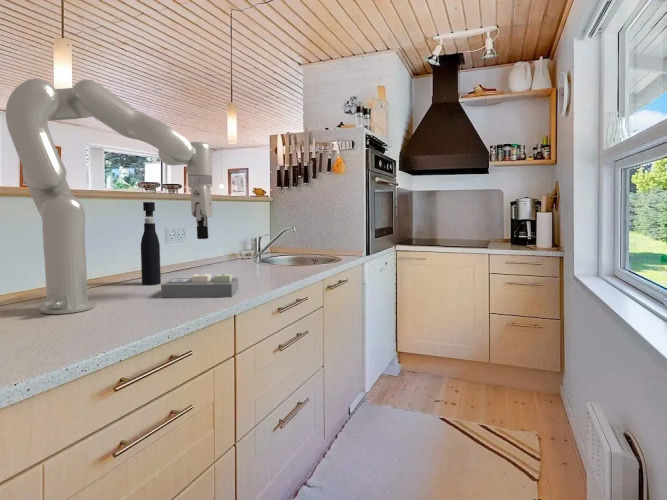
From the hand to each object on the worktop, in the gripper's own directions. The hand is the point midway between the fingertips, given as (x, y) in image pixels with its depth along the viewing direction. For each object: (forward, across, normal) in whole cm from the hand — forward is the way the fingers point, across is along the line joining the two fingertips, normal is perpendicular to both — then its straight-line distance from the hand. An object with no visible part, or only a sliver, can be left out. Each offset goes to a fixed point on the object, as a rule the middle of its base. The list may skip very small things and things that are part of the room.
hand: (202, 238), depth 138 cm
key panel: (+18, -1, +1) cm, 18 cm away
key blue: (+16, 0, +8) cm, 18 cm away
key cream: (+15, -1, +1) cm, 15 cm away
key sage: (+15, -1, -6) cm, 16 cm away
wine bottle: (+18, +19, +24) cm, 35 cm away
